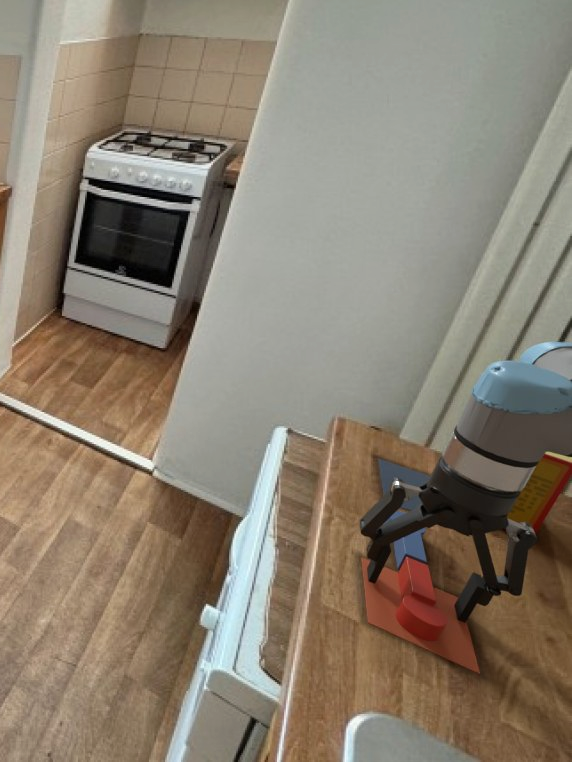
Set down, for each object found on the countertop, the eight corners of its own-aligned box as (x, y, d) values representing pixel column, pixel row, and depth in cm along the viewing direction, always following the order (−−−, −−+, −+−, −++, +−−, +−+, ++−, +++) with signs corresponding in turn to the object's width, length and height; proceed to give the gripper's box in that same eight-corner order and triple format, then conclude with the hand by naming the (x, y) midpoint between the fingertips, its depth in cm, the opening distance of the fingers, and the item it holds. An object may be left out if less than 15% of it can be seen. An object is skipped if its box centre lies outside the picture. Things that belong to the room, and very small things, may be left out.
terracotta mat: (459, 600, 86) (460, 598, 86) (478, 676, 77) (480, 673, 76) (360, 559, 92) (361, 557, 92) (366, 624, 83) (368, 622, 82)
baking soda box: (530, 541, 96) (578, 463, 90) (473, 518, 100) (515, 442, 94) (524, 507, 102) (568, 432, 96) (470, 487, 106) (509, 414, 101)
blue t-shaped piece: (427, 583, 89) (436, 565, 87) (387, 567, 91) (396, 549, 90) (416, 533, 97) (425, 516, 96) (381, 519, 100) (388, 503, 98)
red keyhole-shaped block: (388, 570, 90) (397, 552, 89) (428, 586, 88) (437, 569, 86) (397, 628, 82) (406, 610, 80) (441, 648, 79) (452, 629, 78)
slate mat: (450, 485, 107) (451, 483, 107) (464, 533, 97) (466, 531, 97) (377, 460, 112) (378, 458, 112) (383, 503, 103) (384, 501, 103)
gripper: (594, 494, 74) (514, 619, 83) (369, 423, 86) (319, 538, 95) (618, 534, 69) (529, 663, 77) (373, 452, 81) (320, 571, 89)
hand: (413, 594), depth 86 cm, fingers open, 9 cm apart
